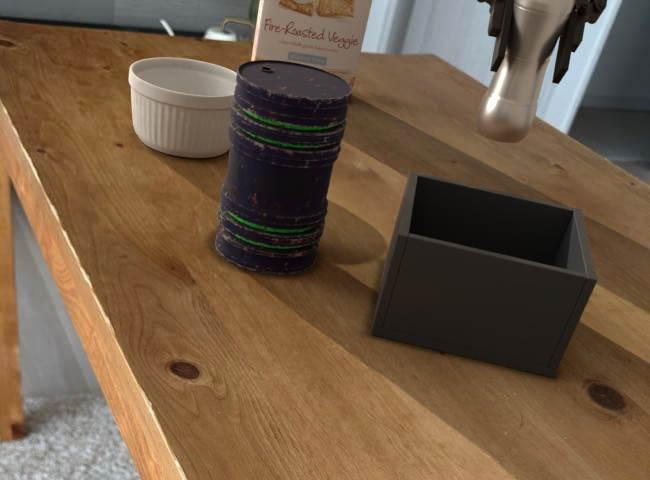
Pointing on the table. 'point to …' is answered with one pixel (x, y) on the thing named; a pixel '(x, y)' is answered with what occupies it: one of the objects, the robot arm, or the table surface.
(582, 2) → the robot arm
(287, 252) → the storage jar
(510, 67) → the silver metal bottle
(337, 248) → the table surface
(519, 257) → the bin
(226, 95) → the ramekin
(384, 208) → the table surface
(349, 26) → the cracker box
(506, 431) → the table surface
